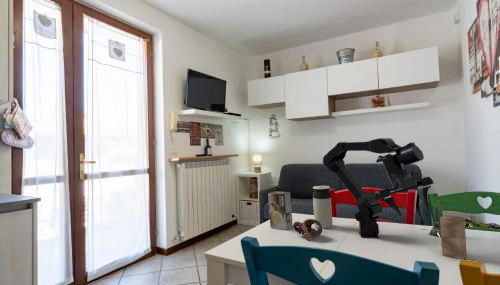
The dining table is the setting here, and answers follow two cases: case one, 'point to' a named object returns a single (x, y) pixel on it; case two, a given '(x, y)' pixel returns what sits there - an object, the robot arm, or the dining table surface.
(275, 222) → the coffee box
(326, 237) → the dining table surface
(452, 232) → the walnut block
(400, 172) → the robot arm
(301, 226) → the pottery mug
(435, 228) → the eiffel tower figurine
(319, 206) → the travel mug
